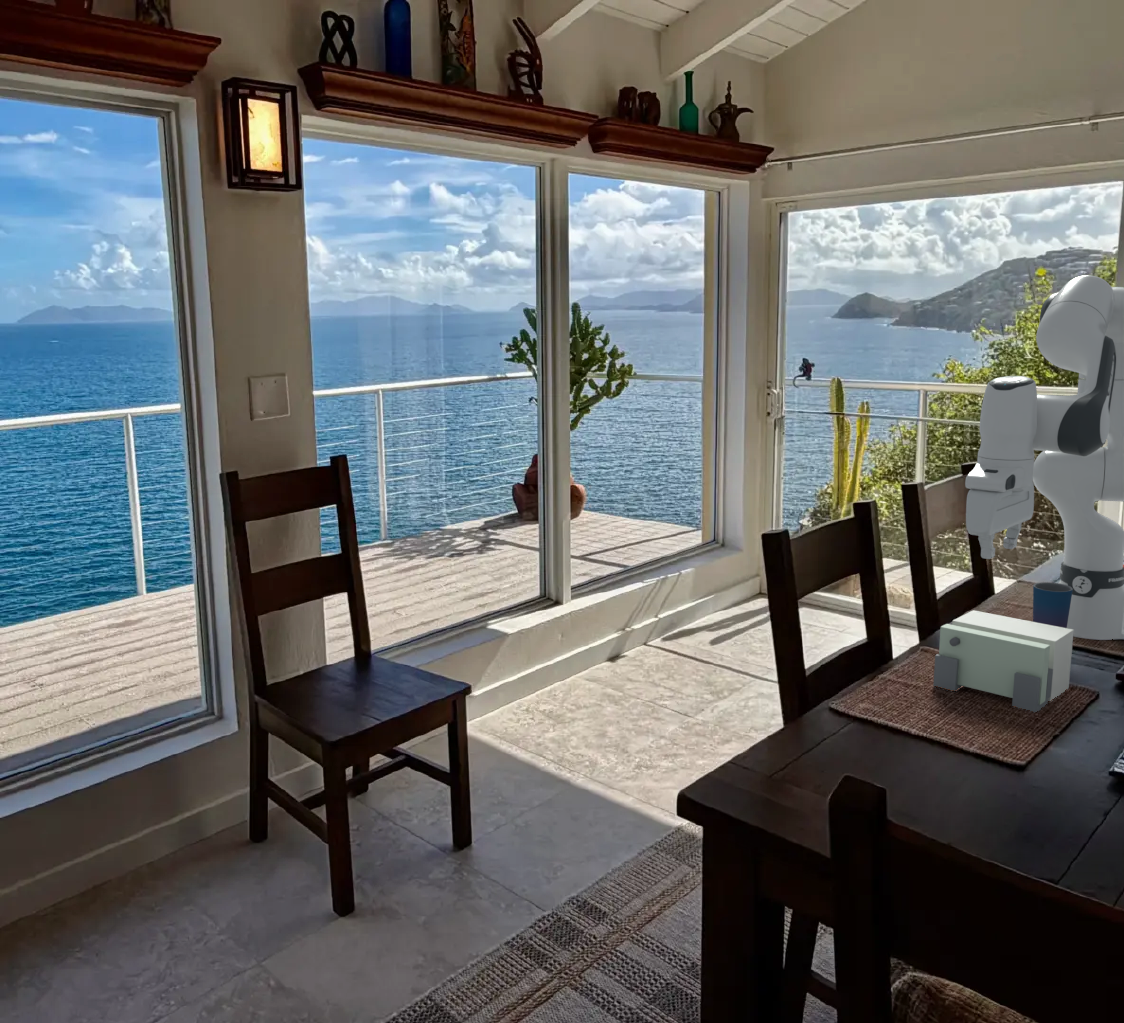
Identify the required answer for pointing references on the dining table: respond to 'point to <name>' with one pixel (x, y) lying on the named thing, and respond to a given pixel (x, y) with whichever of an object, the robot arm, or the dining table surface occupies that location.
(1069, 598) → the cup
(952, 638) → the door
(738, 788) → the dining table surface
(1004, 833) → the dining table surface
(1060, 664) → the cabinet
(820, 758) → the dining table surface
